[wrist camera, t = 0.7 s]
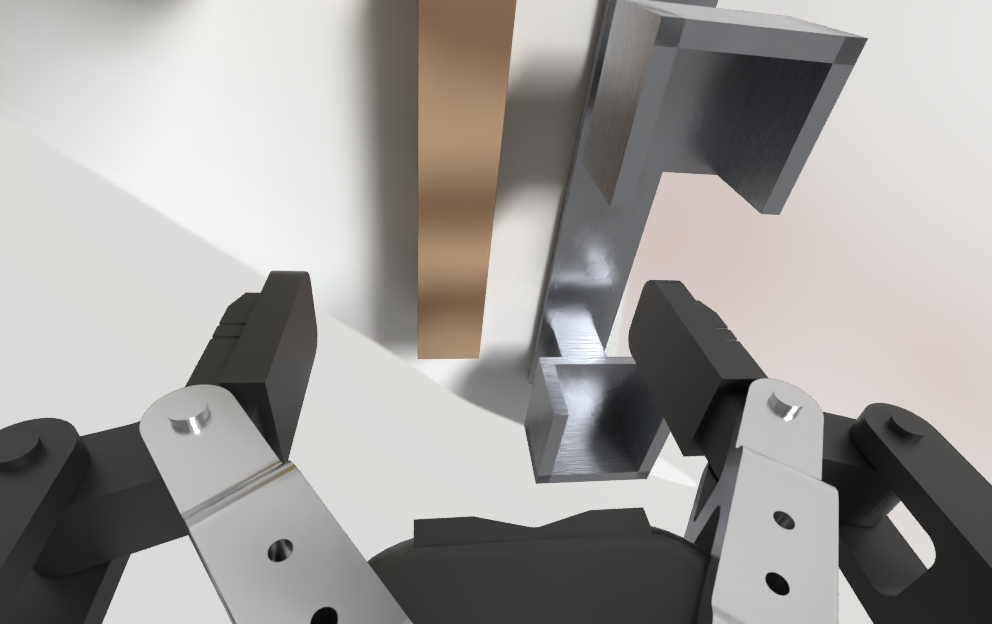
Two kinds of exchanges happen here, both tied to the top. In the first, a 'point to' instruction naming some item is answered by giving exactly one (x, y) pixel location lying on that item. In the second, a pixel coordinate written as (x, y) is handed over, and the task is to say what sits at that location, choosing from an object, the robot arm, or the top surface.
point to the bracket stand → (632, 186)
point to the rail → (458, 165)
